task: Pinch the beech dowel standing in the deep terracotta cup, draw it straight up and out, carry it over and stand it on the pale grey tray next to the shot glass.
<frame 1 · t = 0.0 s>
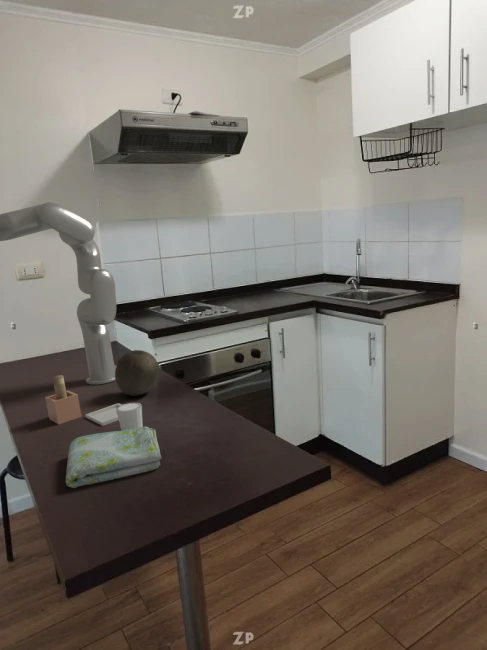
shot glass: (132, 431, 132), on the countertop
cup: (65, 419, 145), on the countertop
tray: (111, 417, 144), on the countertop
towel: (116, 463, 114), on the countertop
dowel: (65, 417, 145), point 1 cm above the countertop, touching cup
cantaloupe: (140, 394, 162), on the countertop
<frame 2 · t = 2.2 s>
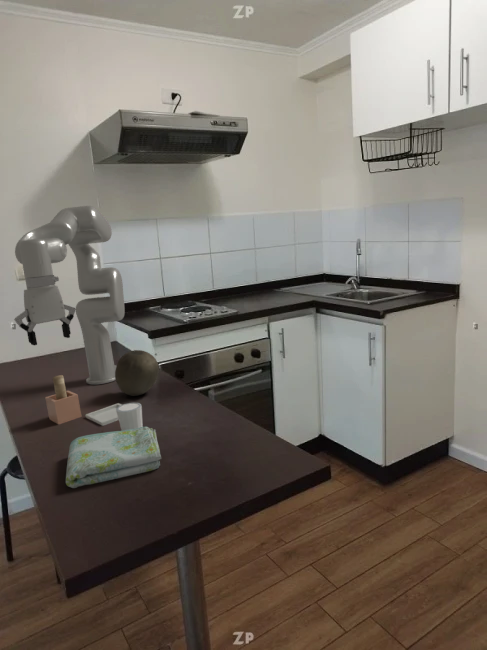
hand: (50, 341, 140), 25 cm above the countertop, tool pointing down, fingers open, 9 cm apart
nothing on the countertop moved.
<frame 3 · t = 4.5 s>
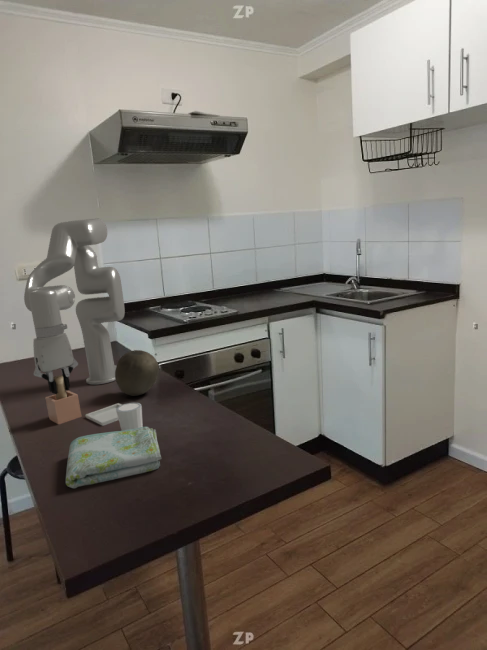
hand: (60, 390, 144), 9 cm above the countertop, tool pointing down, fingers closed on dowel, 3 cm apart
dowel: (65, 417, 145), point 1 cm above the countertop, touching cup, gripper
everything else where it was.
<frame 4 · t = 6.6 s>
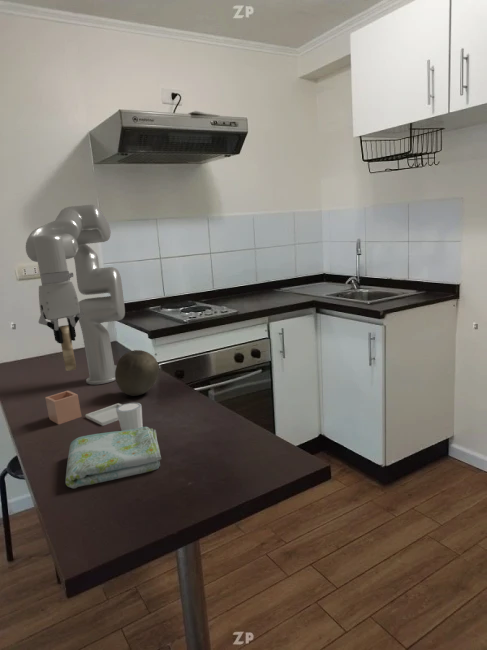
hand: (66, 340, 140), 24 cm above the countertop, tool pointing down, fingers closed on dowel, 3 cm apart
dowel: (71, 369, 142), point 16 cm above the countertop, touching gripper
everything else where it was.
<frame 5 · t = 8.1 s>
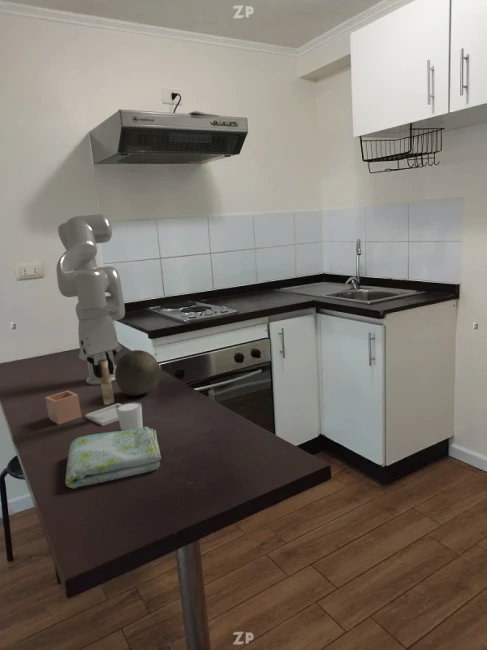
hand: (104, 374, 141), 13 cm above the countertop, tool pointing down, fingers closed on dowel, 3 cm apart
dowel: (109, 402, 142), point 5 cm above the countertop, touching gripper
everything else where it was.
when the fingers open (10 cm above the countertop, at t = 9.0 s): dowel stays where it is, resting on tray.
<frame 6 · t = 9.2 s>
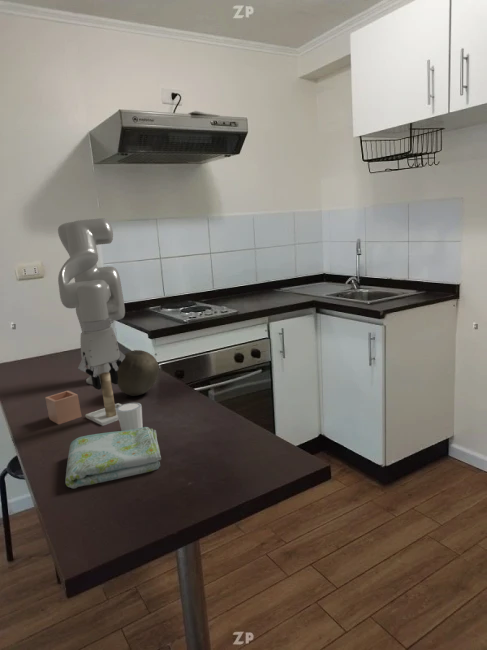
hand: (106, 385, 142), 10 cm above the countertop, tool pointing down, fingers open, 4 cm apart
dowel: (111, 415, 143), point 1 cm above the countertop, touching tray
everything else where it was.
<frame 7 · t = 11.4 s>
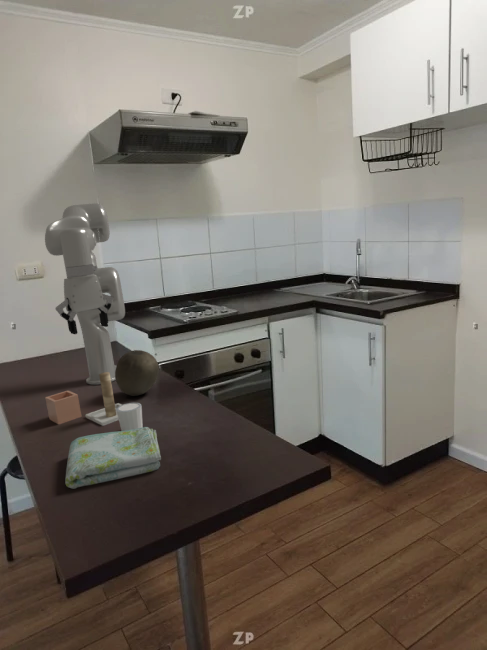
hand: (89, 329, 141), 27 cm above the countertop, tool pointing down, fingers open, 9 cm apart
nothing on the countertop moved.
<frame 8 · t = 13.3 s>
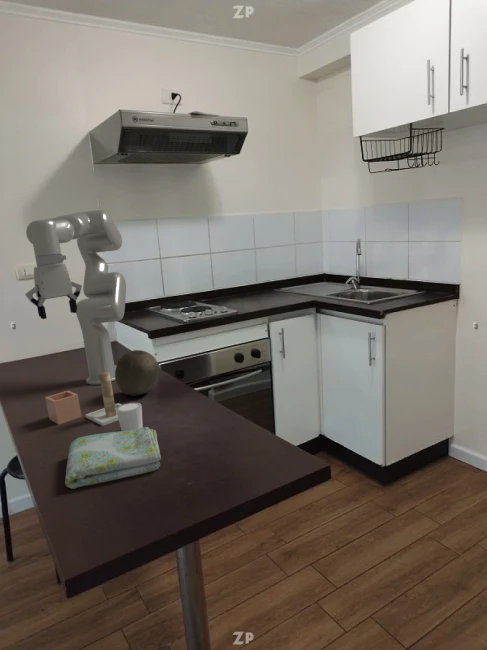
hand: (59, 315, 151), 30 cm above the countertop, tool pointing down, fingers open, 9 cm apart
nothing on the countertop moved.
at the end: dowel inside the target area on the tray (0.0 cm from its centre), point 0.6 cm above the tray's base; dowel tilted 0°; the gripper is holding nothing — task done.
